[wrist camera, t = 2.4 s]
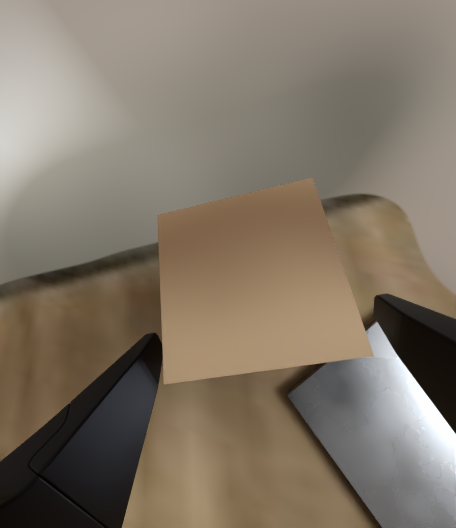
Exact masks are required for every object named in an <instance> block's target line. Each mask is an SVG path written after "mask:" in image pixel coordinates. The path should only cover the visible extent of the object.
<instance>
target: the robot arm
mask: <svg viewBox="0 0 456 528" xmlns="http://www.w3.org/2000/svg"><path fill="white" fill-rule="evenodd" d="M374 317H375V319H376V320H377V322H378V324H379V326H380V327H381V329H382V331H383V332H384V334H385V336H386V337H387V339H388V341H389V343H390V344H391V346H392V348H393V349H394V351H395V352H396V354H397V355H398V357H399V358H400V360H401V361H402V362H403V364H404V365H405V366H406V368H407V369H408V371H409V372H410V373H411V375H412V376H413V377H414V379H415V380H416V381H417V383H418V384H419V385H420V387H421V388H422V389H423V391H424V392H425V393H426V395H427V396H428V398H429V399H430V400H431V402H432V403H433V404H434V406H435V407H436V408H437V410H438V411H439V412H440V414H441V415H442V416H443V418H444V419H445V420H446V422H447V423H448V425H449V426H450V427H451V429H452V430H453V431H454V433H455V434H456V319H454V318H452V317H449V316H446V315H443V314H441V313H438V312H435V311H433V310H430V309H427V308H425V307H422V306H419V305H417V304H414V303H411V302H409V301H406V300H403V299H401V298H398V297H395V296H393V295H390V294H381V295H377V296H375V298H374ZM162 359H163V348H162V343H161V341H160V339H159V337H158V335H157V334H156V333H149V334H146V335H145V336H144V337H143V338H141V339H140V340H139V341H138V342H137V343H136V344H135V345H134V346H133V347H131V348H130V349H129V350H128V351H127V352H126V353H125V354H124V355H122V356H121V357H120V358H119V359H118V360H117V361H116V362H115V363H114V364H112V365H111V366H110V367H109V368H108V369H107V370H106V371H105V372H104V373H102V374H101V375H100V376H99V377H98V378H97V379H96V380H95V381H93V382H92V383H91V384H90V385H89V386H88V387H87V388H86V389H85V390H83V391H82V392H81V393H80V394H79V395H78V396H77V397H76V398H75V399H73V400H72V401H71V403H70V404H68V405H67V406H66V407H64V408H63V409H62V410H61V411H60V412H59V413H58V414H57V415H56V416H54V417H53V418H52V419H51V420H50V421H49V422H48V423H46V424H45V425H44V426H43V427H42V428H41V429H39V430H38V431H37V432H36V433H35V434H33V435H32V436H31V437H30V438H29V439H27V440H26V441H25V442H24V443H22V444H21V445H20V446H19V447H18V448H16V449H15V450H14V451H13V452H12V453H10V454H9V455H8V456H7V457H5V458H4V459H3V460H2V461H1V462H0V528H122V524H123V521H124V517H125V513H126V509H127V505H128V501H129V497H130V494H131V490H132V486H133V482H134V478H135V474H136V470H137V467H138V463H139V459H140V455H141V451H142V447H143V443H144V439H145V436H146V432H147V428H148V424H149V420H150V416H151V412H152V409H153V405H154V401H155V397H156V393H157V389H158V384H159V379H160V372H161V366H162Z"/></svg>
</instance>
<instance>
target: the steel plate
mask: <svg viewBox="0 0 456 528" xmlns="http://www.w3.org/2000/svg"><path fill="white" fill-rule="evenodd" d="M365 331H366V334H367V337H368V340H369V343H370V346H371V349H372V352H373V354H374V356H370V357H363V358H356V359H348V360H341V361H333V362H326V363H322V364H321V365H320V366H319V367H318V368H316V369H315V370H314V371H313V372H311V373H310V374H309V375H308V376H307V377H305V378H304V379H303V380H302V381H300V382H299V383H298V384H297V385H296V386H294V387H293V388H292V389H291V390H289V391H288V392H287V396H288V397H289V399H290V400H291V401H292V403H293V404H294V406H295V407H296V408H297V410H298V411H299V413H300V414H301V415H302V417H303V418H304V420H305V421H306V422H307V424H308V425H309V426H310V428H311V429H312V431H313V432H314V433H315V435H316V436H317V438H318V439H319V440H320V442H321V443H322V445H323V446H324V447H325V449H326V450H327V451H328V453H329V454H330V456H331V457H332V458H333V460H334V461H335V463H336V464H337V465H338V467H339V468H340V470H341V471H342V472H343V474H344V475H345V477H346V478H347V479H348V481H349V482H350V483H351V485H352V486H353V488H354V489H355V490H356V492H357V493H358V495H359V496H360V497H361V499H362V500H363V502H364V503H365V504H366V506H367V507H368V508H369V510H370V511H371V513H372V514H373V515H374V517H375V518H376V520H377V521H378V522H379V524H380V525H381V527H382V528H456V434H455V433H454V431H453V430H452V429H451V427H450V426H449V425H448V423H447V422H446V420H445V419H444V418H443V416H442V415H441V414H440V412H439V411H438V410H437V408H436V407H435V406H434V404H433V403H432V402H431V400H430V399H429V398H428V396H427V395H426V393H425V392H424V391H423V389H422V388H421V387H420V385H419V384H418V383H417V381H416V380H415V379H414V377H413V376H412V375H411V373H410V372H409V371H408V369H407V368H406V366H405V365H404V364H403V362H402V361H401V360H400V358H399V357H398V355H397V354H396V352H395V351H394V349H393V348H392V346H391V344H390V343H389V341H388V339H387V337H386V336H385V334H384V332H383V331H382V329H381V327H380V326H379V324H378V322H377V320H375V321H374V322H372V323H371V324H370V325H369V326H368V327H366V328H365Z"/></svg>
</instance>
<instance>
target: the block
mask: <svg viewBox="0 0 456 528" xmlns="http://www.w3.org/2000/svg"><path fill="white" fill-rule="evenodd" d="M158 241H159V268H160V295H161V322H162V348H163V375H164V384H171V383H178V382H186V381H193V380H200V379H208V378H215V377H222V376H230V375H237V374H245V373H252V372H259V371H267V370H274V369H282V368H289V367H296V366H304V365H311V364H319V363H326V362H333V361H341V360H348V359H356V358H363V357H370V356H374V354H373V352H372V349H371V346H370V343H369V340H368V337H367V334H366V331H365V328H364V326H363V323H362V320H361V317H360V314H359V311H358V308H357V305H356V302H355V300H354V297H353V294H352V291H351V288H350V285H349V282H348V279H347V276H346V274H345V271H344V268H343V265H342V262H341V259H340V256H339V253H338V251H337V248H336V245H335V242H334V239H333V236H332V233H331V230H330V227H329V225H328V222H327V219H326V216H325V213H324V210H323V207H322V204H321V201H320V199H319V196H318V193H317V190H316V187H315V184H314V181H313V178H309V179H305V180H301V181H297V182H293V183H288V184H284V185H280V186H276V187H272V188H268V189H264V190H259V191H255V192H251V193H247V194H243V195H239V196H235V197H230V198H226V199H222V200H218V201H214V202H210V203H206V204H202V205H197V206H193V207H190V208H185V209H181V210H177V211H173V212H168V213H164V214H160V215H158Z"/></svg>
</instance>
